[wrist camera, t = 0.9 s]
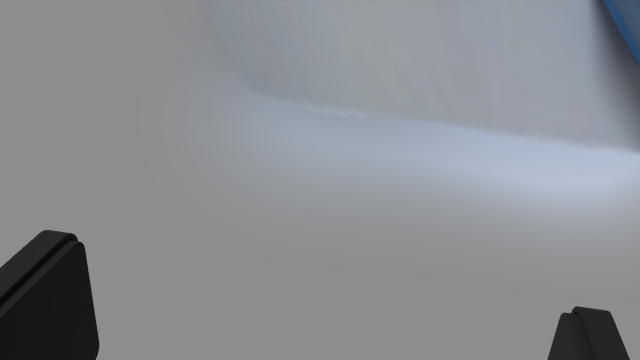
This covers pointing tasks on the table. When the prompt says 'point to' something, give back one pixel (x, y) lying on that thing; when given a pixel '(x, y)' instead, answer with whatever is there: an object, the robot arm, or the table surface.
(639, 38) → the perfume bottle
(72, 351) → the robot arm
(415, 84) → the table surface
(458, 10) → the table surface
